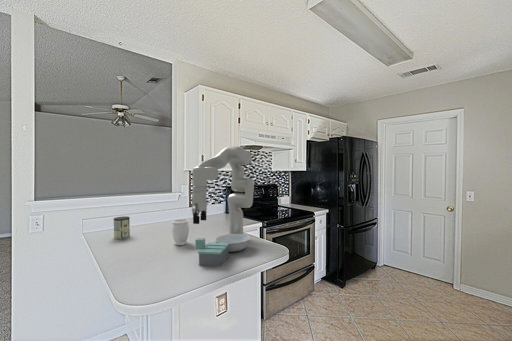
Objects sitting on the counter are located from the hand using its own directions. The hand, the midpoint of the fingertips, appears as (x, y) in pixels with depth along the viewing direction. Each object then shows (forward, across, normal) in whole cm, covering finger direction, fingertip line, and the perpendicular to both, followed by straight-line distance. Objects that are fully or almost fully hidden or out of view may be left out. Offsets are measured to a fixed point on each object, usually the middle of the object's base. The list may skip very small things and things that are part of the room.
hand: (200, 221), depth 131 cm
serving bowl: (+20, -19, +13) cm, 31 cm away
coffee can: (+20, -36, -75) cm, 86 cm away
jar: (+20, -26, -24) cm, 41 cm away
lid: (+16, 0, +6) cm, 17 cm away
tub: (+20, 0, +8) cm, 22 cm away
